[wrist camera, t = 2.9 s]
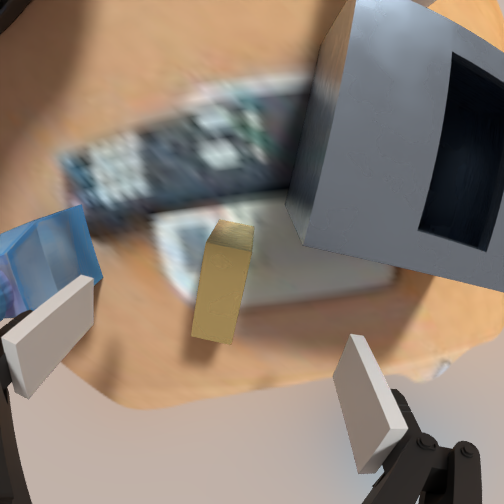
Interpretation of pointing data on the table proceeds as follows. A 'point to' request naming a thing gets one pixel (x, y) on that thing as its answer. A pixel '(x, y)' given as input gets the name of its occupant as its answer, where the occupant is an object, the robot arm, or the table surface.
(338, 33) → the coin box
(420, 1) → the medicine bottle
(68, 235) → the perfume bottle
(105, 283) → the table surface
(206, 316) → the block
